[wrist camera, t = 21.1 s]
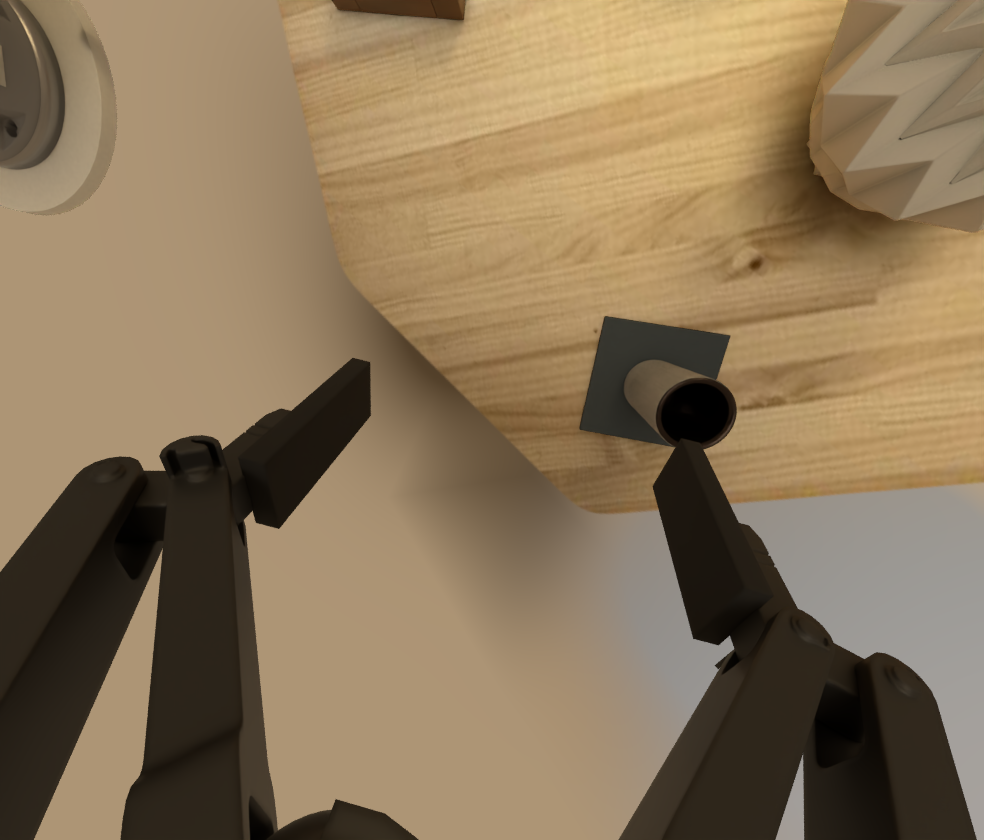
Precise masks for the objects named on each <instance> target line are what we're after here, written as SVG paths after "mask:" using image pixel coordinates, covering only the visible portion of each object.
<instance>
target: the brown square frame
mask: <svg viewBox="0 0 984 840" xmlns="http://www.w3.org/2000/svg"><path fill="white" fill-rule="evenodd" d="M332 1H333V3H334V4H335V6H336V7H337V9H339V10H350V11H363V12H371V13H384V14H396V15H408V16H420V17H433V18H437V17H438V18H447V19H459V20H463V19H464V9H465V0H332Z"/></svg>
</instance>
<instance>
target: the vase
mask: <svg viewBox="0 0 984 840" xmlns="http://www.w3.org/2000/svg"><path fill="white" fill-rule="evenodd" d="M806 145H807V146H808V147H809V148H810V158H811V160H812V161H813V163H814V164H815V169H814V175H819V176H822V177H823V179H824V181H825V183H826V185H827V187H828V189H829V190H830V192H831V193H833V194H835V195H836V196H838V197H839V198H841V199H843V200H844V201H846V202H847V203H849V204H851V205H852V206H854V207H855V208H857V209H859V210H865V211H871V212H878V213H882V214H883V215H885V216H887V217H889V218H891V219H892V220H894V221H897V220H901V219H904V220H909V221H915V222H920V223H925V224H930V225H935V226H941V227H946V228H951V229H956V230H961V231H966V232H978V231H981V230H983V229H984V0H848V2H847V4H846V7H845V10H844V13H843V16H842V19H841V22H840V25H839V28H838V31H837V34H836V37H835V40H834V43H833V46H832V49H831V52H830V54H829V56H828V58H827V60H826V61H825V64H824V67H823V71H822V74H821V78H820V81H819V84H818V88H817V91H816V95H815V98H814V102H813V105H812V109H811V114H810V139H809V140H808V142H807V143H806Z"/></svg>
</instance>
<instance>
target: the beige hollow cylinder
mask: <svg viewBox="0 0 984 840" xmlns="http://www.w3.org/2000/svg"><path fill="white" fill-rule="evenodd" d="M624 394H625V397H626V399H627V401H628V402H629V404H630V405H631V406H632V407H633V408H634V409H635V410H636V411H637V412H638V413H639V414H640V415H641V416H642V417H643V418H644V419H645V420H646V421H647V423H648V424H649V425H650V426H651V427H652V428H653V429H654V430H655V431H656V432H657V433H658V434H659V435H660V436H661V437H662V438H663V439H664V440H665V441H666V442H667V443H669V444H670V445H672V446H674V447H676V446H677V444H678V443H679V441H680V439H681V438H682V439H686V440H690V441H694V442H698V443H700V444H701V446H702V448H703V449H706V448H709V447H711V446H713V445H715V444H717V443H718V442H720V441H721V440H722V439H724V438H725V437H726V436H727V434H728V433H729V432H730V430H731V429H732V427H733V425H734V422H735V419H736V414H737V407H736V402H735V399H734V397H733V395H732V393H731V392H730V390H729V389H728V388H727V387H726V386H725V385H723V384H722V383H720V382H719V381H717V380H714V379H712V378H709V377H706V376H703V375H701V374H698V373H695V372H692V371H690V370H687V369H684V368H681V367H679V366H676V365H673V364H670V363H667V362H665V361H661V360H647V361H643V362H641V363H639V364H637V365H636V366H634V367H633V368H632V369H631V370H630V371H629V373H628V374H627V376H626V378H625V381H624Z"/></svg>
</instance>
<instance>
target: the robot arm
mask: <svg viewBox="0 0 984 840" xmlns="http://www.w3.org/2000/svg"><path fill="white" fill-rule="evenodd" d="M64 115H65V95H64V86H63V80H62V75H61V71H60V67H59V64H58V61H57V58H56V55H55V53H54V50H53V48H52V46H51V43H50V41H49V39H48V37H47V35H46V34H45V32H44V30H43V28H42V27H41V25H40V24H39V22H38V21H37V19H36V18H35V17H34V15H33V14H32V13H31V12H30V10H29V9H28V8H27V7H26V6H25V5H24V4H23V3H22V2H21V1H20V0H0V167H4V168H8V169H17V170H19V169H27V168H31V167H33V166H36V165H38V164H39V163H41V162H42V161H44V160H45V159H46V158H47V157H48V156H49V155H50V153H51V152H52V151H53V149H54V148H55V146H56V144H57V142H58V140H59V137H60V134H61V131H62V127H63V122H64ZM370 407H371V401H370V362H367V361H363V360H359V359H355V358H352V359H351V360H350V361H349V362H347V363H346V364H345V365H344V366H343V367H342V368H340V369H339V370H338V371H337V372H336V373H335V374H333V375H332V376H331V377H330V378H329V379H328V380H327V381H325V382H324V383H323V384H322V385H321V386H320V387H318V388H317V389H316V390H315V391H314V392H313V393H311V394H310V395H309V396H308V397H307V398H306V399H305V400H303V401H302V402H301V403H300V404H299V405H298V406H296V407H295V408H294V409H293V410H292V411H289V410H285V409H279V410H277V411H274V412H272V413H269V414H267V415H265V416H264V417H263V418H261V419H260V420H259V421H258V422H256V423H255V425H254V426H251V427H250V428H249V429H248V430H247V431H246V433H243V434H242V435H240V436H239V437H238V438H237V439H235V440H234V441H233V442H232V443H230V444H229V445H228V446H227V447H225V448H224V449H223V450H222V448H221V445H220V443H219V441H218V440H216V439H214V438H213V437H209V436H203V435H201V436H190V437H186V438H182V439H179V440H177V441H175V442H172V443H170V444H169V445H168V446H166V447H165V448H164V449H163V450H162V452H161V454H160V459H161V461H162V463H163V466H164V468H165V470H166V471H144V470H143V468H142V466H141V464H140V463H139V461H138V460H136V459H134V458H131V457H113V458H107V459H104V460H101V461H98V462H95V463H93V464H91V465H89V466H87V467H85V468H84V469H82V470H81V471H80V472H79V473H78V474H77V475H76V476H75V477H74V479H73V480H72V481H71V482H70V484H69V485H68V486H67V488H66V489H65V490H64V491H63V493H62V494H61V495H60V496H59V498H58V499H57V500H56V502H55V503H54V504H53V505H52V507H51V508H50V509H49V511H48V512H47V513H46V514H45V516H44V517H43V518H42V519H41V521H40V522H39V523H38V525H37V526H36V528H35V529H34V530H33V531H32V532H31V534H30V535H29V536H28V538H27V539H26V540H25V541H24V543H23V544H22V545H21V546H20V548H19V549H18V550H17V551H16V553H15V554H14V555H13V557H12V558H11V559H10V560H9V562H8V563H7V564H6V566H5V567H4V568H3V569H2V571H1V572H0V840H34V838H35V835H36V833H37V831H38V829H39V826H40V824H41V822H42V820H43V817H44V815H45V813H46V810H47V808H48V806H49V804H50V802H51V799H52V797H53V795H54V793H55V790H56V788H57V786H58V783H59V781H60V779H61V777H62V774H63V772H64V770H65V768H66V765H67V763H68V761H69V759H70V756H71V754H72V752H73V750H74V747H75V745H76V743H77V741H78V738H79V736H80V734H81V731H82V729H83V727H84V725H85V722H86V720H87V718H88V716H89V713H90V711H91V709H92V707H93V704H94V702H95V700H96V697H97V695H98V693H99V691H100V689H101V686H102V684H103V682H104V680H105V677H106V675H107V673H108V670H109V668H110V666H111V664H112V661H113V659H114V657H115V655H116V652H117V650H118V648H119V646H120V643H121V641H122V639H123V636H124V634H125V632H126V630H127V628H128V625H129V623H130V621H131V619H132V616H133V614H134V611H135V609H136V607H137V605H138V603H139V600H140V598H141V596H142V594H143V591H144V589H145V587H146V585H147V582H148V580H149V578H150V575H151V573H152V571H153V569H154V567H155V564H156V562H157V560H158V558H159V555H160V553H161V551H162V549H163V552H162V564H161V574H160V585H159V597H158V609H157V619H156V629H155V640H154V651H153V663H152V673H151V684H150V695H149V706H148V718H147V728H146V739H145V751H144V761H143V766H142V771H141V774H140V776H139V778H138V779H137V780H136V781H135V782H134V784H133V785H132V786H131V788H130V791H129V794H128V797H127V799H126V804H125V810H124V815H123V822H122V831H121V840H418V839H417V838H416V837H415V836H413V835H412V834H411V833H409V832H408V831H407V830H406V829H404V828H403V827H402V826H400V825H399V824H398V823H396V822H395V821H394V820H392V819H391V818H390V817H389V816H387V815H386V814H384V813H381V812H378V811H374V810H371V809H367V808H364V807H361V806H357V805H354V804H350V803H347V802H344V801H340V800H337V799H336V800H335V803H334V805H333V808H332V810H326V811H320V812H317V813H314V814H310V815H307V816H305V817H302V818H300V819H298V820H295V821H293V822H291V823H290V824H288V825H286V826H285V827H283V828H281V829H280V830H278V828H277V818H276V808H275V799H274V793H273V787H272V782H271V777H270V773H269V767H268V760H267V750H266V739H265V728H264V718H263V707H262V697H261V686H260V675H259V665H258V655H257V644H256V633H255V623H254V612H253V601H252V590H251V581H250V570H249V559H248V548H247V538H246V527H245V523H244V519H245V518H246V517H247V516H248V515H249V514H250V513H251V512H252V511H253V514H254V517H255V521H256V523H259V524H263V525H266V526H270V527H274V528H278V529H279V528H280V527H281V526H282V525H283V523H284V522H285V521H286V520H287V518H288V517H289V516H290V515H291V513H292V512H293V511H294V510H295V509H296V507H297V506H298V505H299V504H300V502H301V501H302V500H303V498H304V497H305V496H306V495H307V494H308V492H309V491H310V490H311V489H312V488H313V486H314V485H315V484H316V483H317V481H318V480H319V479H320V478H321V476H322V475H323V474H324V473H325V471H326V470H327V469H328V468H329V466H330V465H331V464H332V463H333V461H334V460H335V459H336V458H337V457H338V455H339V454H340V453H341V452H342V450H343V449H344V448H345V447H346V446H347V444H348V443H349V442H350V441H351V439H352V438H353V437H354V436H355V434H356V433H357V432H358V430H359V429H360V428H361V427H362V426H363V425H364V423H365V422H366V421H367V419H368V418H369V417H370V416H371V410H370V409H371V408H370ZM653 490H654V494H655V497H656V501H657V505H658V508H659V512H660V516H661V520H662V523H663V527H664V531H665V535H666V538H667V542H668V546H669V550H670V553H671V557H672V561H673V565H674V568H675V572H676V576H677V579H678V583H679V587H680V591H681V594H682V598H683V602H684V606H685V609H686V613H687V617H688V621H689V624H690V628H691V631H692V635H693V639H697V640H700V641H704V642H708V643H712V644H716V645H719V644H720V643H722V642H723V641H724V640H725V639H726V638H727V637H728V636H730V637H731V640H732V643H733V646H734V650H733V651H732V652H730V653H729V654H728V655H727V656H726V657H724V658H723V659H722V660H721V661H720V662H718V663H717V664H716V665H715V666H716V667H717V668H718V669H719V668H720V669H719V671H718V672H717V674H716V676H715V677H714V679H713V681H712V682H711V684H710V686H709V688H708V689H707V691H706V693H705V695H704V696H703V698H702V700H701V701H700V703H699V705H698V706H697V708H696V710H695V711H694V713H693V715H692V717H691V718H690V720H689V721H688V723H687V725H686V727H685V728H684V730H683V732H682V733H681V735H680V737H679V738H678V740H677V742H676V743H675V745H674V747H673V748H672V750H671V752H670V754H669V755H668V757H667V759H666V760H665V762H664V764H663V766H662V767H661V769H660V770H659V772H658V774H657V776H656V777H655V779H654V781H653V782H652V784H651V786H650V787H649V789H648V791H647V793H646V794H645V796H644V798H643V799H642V801H641V803H640V804H639V806H638V808H637V810H636V811H635V813H634V815H633V816H632V818H631V820H630V821H629V823H628V825H627V826H626V828H625V830H624V832H623V833H622V835H621V837H620V838H619V840H775V839H776V836H777V833H778V829H779V826H780V823H781V820H782V817H783V814H784V811H785V808H786V805H787V801H788V798H789V795H790V792H791V789H792V786H793V783H794V780H795V777H796V774H797V770H798V767H799V764H800V761H801V758H802V755H803V761H804V762H803V763H804V764H803V767H804V768H803V771H804V840H977V839H976V836H975V832H974V829H973V825H972V822H971V819H970V815H969V811H968V808H967V805H966V801H965V798H964V794H963V791H962V788H961V784H960V781H959V777H958V774H957V770H956V767H955V764H954V760H953V757H952V753H951V750H950V746H949V743H948V739H947V736H946V733H945V729H944V726H943V722H942V719H941V715H940V712H939V709H938V705H937V702H936V700H935V698H934V696H933V693H932V691H931V690H930V689H929V687H928V686H927V685H926V684H925V682H924V681H923V680H922V679H921V678H920V677H919V676H918V675H917V674H916V673H915V672H914V671H913V670H912V669H911V668H910V667H908V666H907V665H905V664H904V663H902V662H901V661H899V660H898V659H896V658H894V657H892V656H890V655H888V654H885V653H878V652H877V653H874V654H873V655H871V656H869V657H867V658H866V659H863V658H861V657H859V656H857V655H855V654H854V653H852V652H850V651H848V650H846V649H844V648H842V647H840V646H838V645H836V644H834V643H833V641H832V638H831V636H830V635H829V634H828V632H827V631H826V630H825V628H824V627H823V626H822V625H821V624H820V623H819V622H818V621H816V620H815V619H814V618H813V617H812V616H810V615H809V614H807V613H805V612H804V611H802V610H799V609H798V608H797V606H796V604H795V602H794V601H793V599H792V597H791V595H790V593H789V591H788V589H787V587H786V585H785V583H784V582H783V580H782V578H781V576H780V574H779V572H778V570H777V568H776V567H774V563H773V561H772V559H771V557H770V556H768V551H767V549H766V547H765V545H764V543H763V542H762V540H761V538H760V537H759V536H758V535H757V534H756V533H755V532H754V531H753V530H752V529H751V527H750V526H748V525H745V524H741V523H739V522H738V520H737V518H736V516H735V514H734V512H733V510H732V508H731V506H730V504H729V502H728V500H727V498H726V496H725V493H724V491H723V489H722V487H721V485H720V483H719V481H718V479H717V477H716V475H715V473H714V471H713V469H712V467H711V465H710V463H709V460H708V458H707V456H706V454H705V452H704V450H703V448H702V446H701V444H700V443H698V442H694V441H690V440H686V439H682V438H681V439H680V441H679V443H678V444H677V446H676V448H675V450H674V451H673V453H672V455H671V456H670V458H669V460H668V461H667V463H666V465H665V466H664V468H663V470H662V471H661V473H660V475H659V476H658V478H657V480H656V481H655V483H654V485H653Z"/></svg>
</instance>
